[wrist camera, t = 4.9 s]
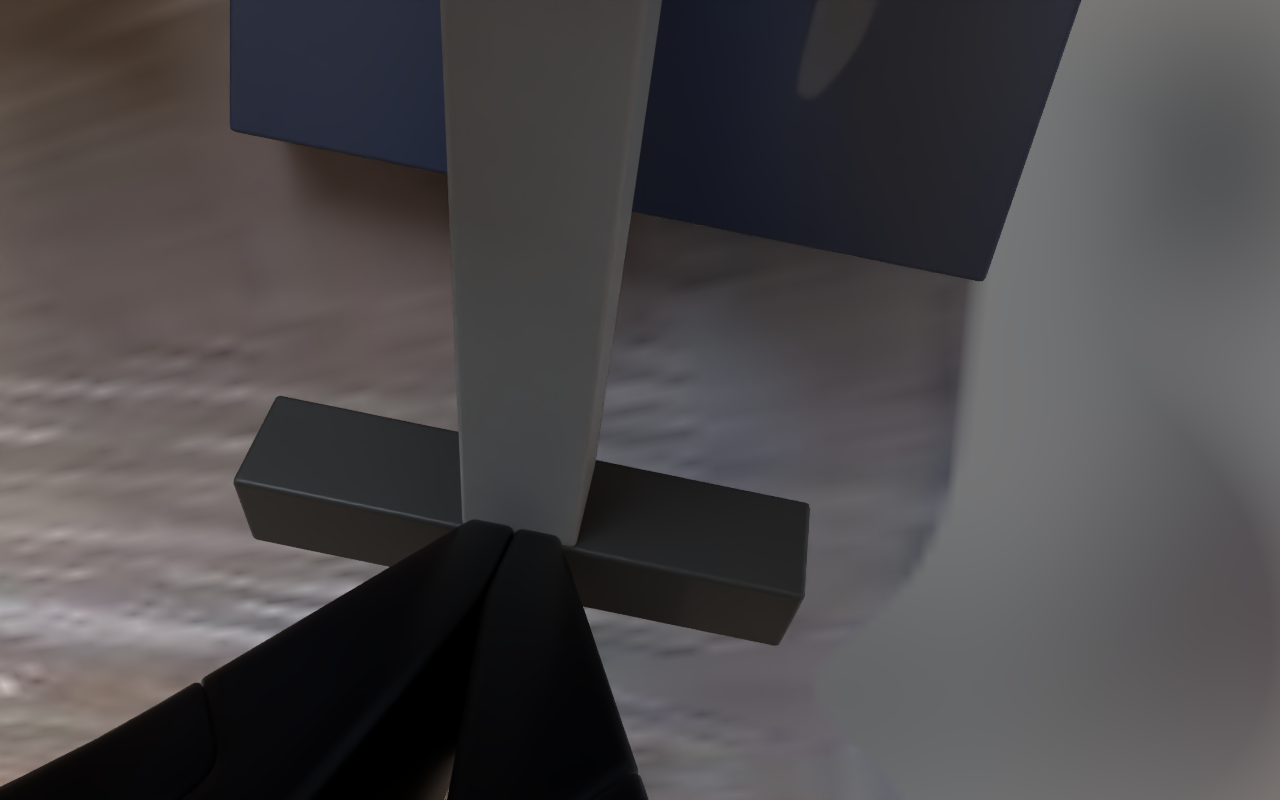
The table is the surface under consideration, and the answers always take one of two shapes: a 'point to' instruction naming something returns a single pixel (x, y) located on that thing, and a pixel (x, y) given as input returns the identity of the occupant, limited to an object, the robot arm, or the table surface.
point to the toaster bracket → (723, 110)
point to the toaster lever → (535, 352)
